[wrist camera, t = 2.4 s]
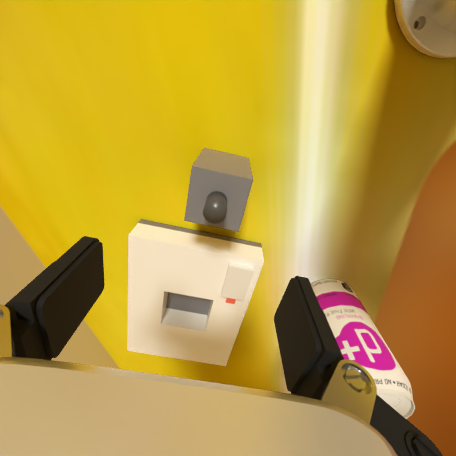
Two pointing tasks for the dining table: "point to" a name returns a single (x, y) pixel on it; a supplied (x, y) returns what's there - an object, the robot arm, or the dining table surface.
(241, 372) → the dining table surface
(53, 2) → the dining table surface
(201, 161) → the plug
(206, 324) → the socket
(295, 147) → the dining table surface
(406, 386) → the supplement can
